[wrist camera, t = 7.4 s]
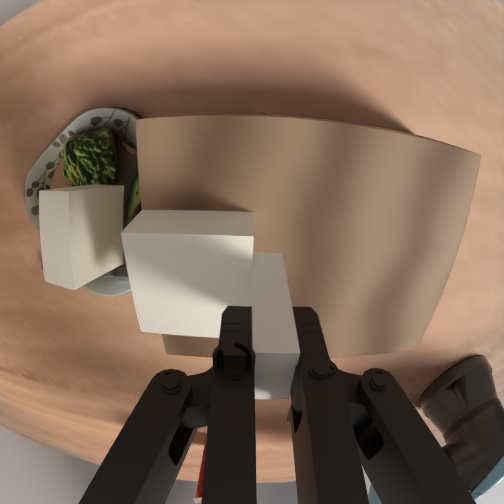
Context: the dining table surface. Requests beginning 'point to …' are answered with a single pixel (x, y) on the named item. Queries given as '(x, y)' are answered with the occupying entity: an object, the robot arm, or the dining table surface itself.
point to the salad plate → (93, 172)
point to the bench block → (323, 214)
